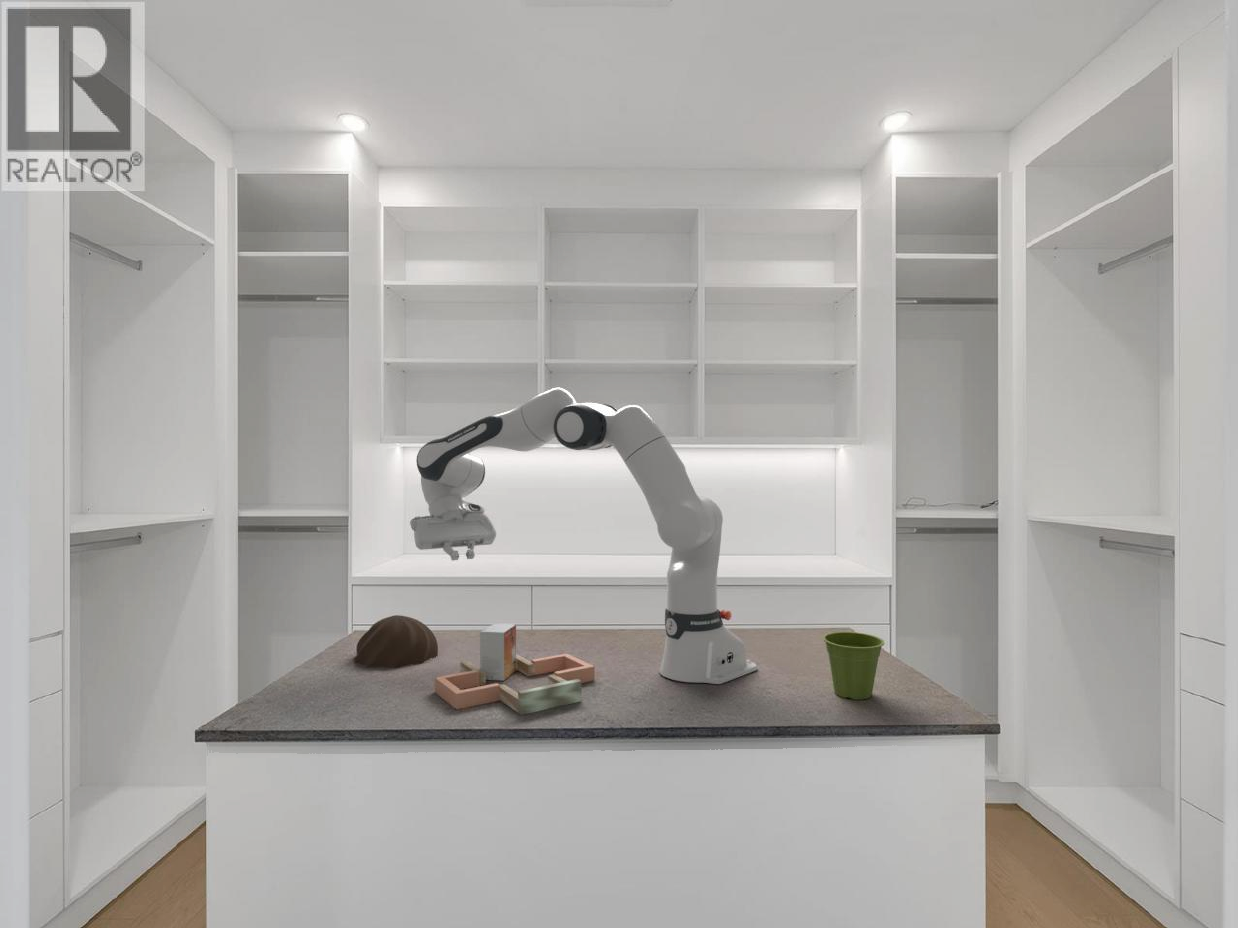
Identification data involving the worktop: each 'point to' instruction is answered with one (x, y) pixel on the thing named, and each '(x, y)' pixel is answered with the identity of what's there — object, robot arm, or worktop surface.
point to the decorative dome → (396, 643)
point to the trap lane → (533, 689)
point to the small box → (498, 651)
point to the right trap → (565, 667)
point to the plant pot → (853, 662)
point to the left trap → (465, 698)
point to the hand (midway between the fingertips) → (463, 558)
